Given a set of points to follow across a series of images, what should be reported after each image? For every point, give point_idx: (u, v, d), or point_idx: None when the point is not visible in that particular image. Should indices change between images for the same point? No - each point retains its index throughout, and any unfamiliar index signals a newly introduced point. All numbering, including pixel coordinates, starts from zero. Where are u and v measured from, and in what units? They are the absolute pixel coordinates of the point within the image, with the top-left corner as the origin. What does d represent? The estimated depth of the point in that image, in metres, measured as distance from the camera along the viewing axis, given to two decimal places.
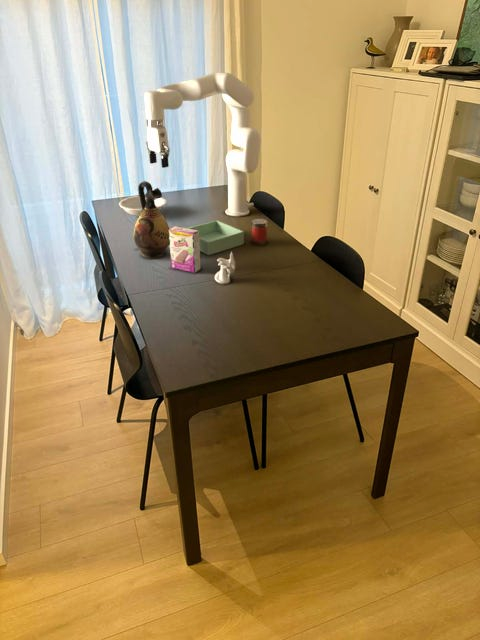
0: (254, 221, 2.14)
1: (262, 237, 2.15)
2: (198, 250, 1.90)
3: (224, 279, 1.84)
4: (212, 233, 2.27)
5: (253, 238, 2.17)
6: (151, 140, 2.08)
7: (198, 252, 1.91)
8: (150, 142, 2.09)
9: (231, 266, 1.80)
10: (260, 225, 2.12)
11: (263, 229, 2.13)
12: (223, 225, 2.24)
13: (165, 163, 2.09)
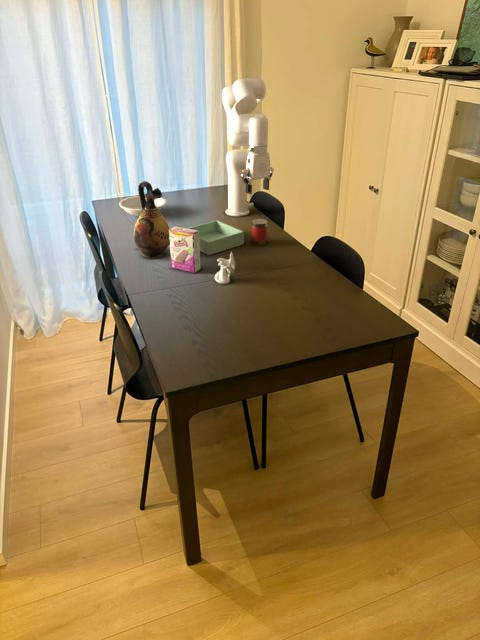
0: (254, 221, 2.14)
1: (262, 237, 2.15)
2: (198, 250, 1.90)
3: (224, 279, 1.84)
4: (212, 233, 2.27)
5: (253, 238, 2.17)
6: None
7: (198, 252, 1.91)
8: None
9: (231, 266, 1.80)
10: (260, 225, 2.12)
11: (263, 229, 2.13)
12: (223, 225, 2.24)
13: (246, 189, 2.04)
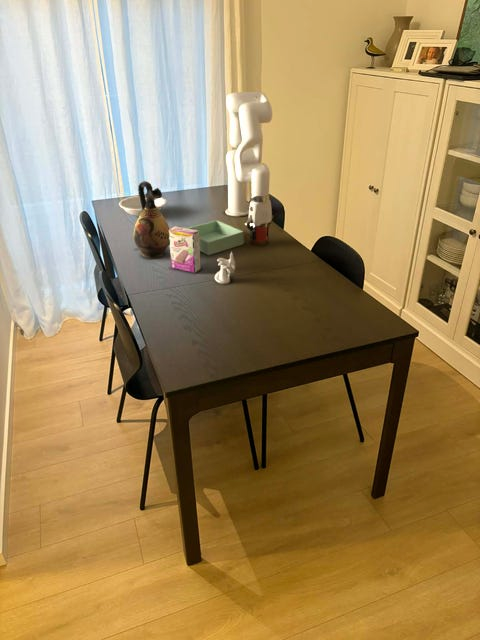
0: None
1: (262, 237, 2.15)
2: (198, 250, 1.90)
3: (224, 279, 1.84)
4: (212, 233, 2.27)
5: None
6: None
7: (198, 252, 1.91)
8: None
9: (231, 266, 1.80)
10: (260, 225, 2.12)
11: (263, 229, 2.13)
12: (223, 225, 2.24)
13: (250, 235, 2.15)
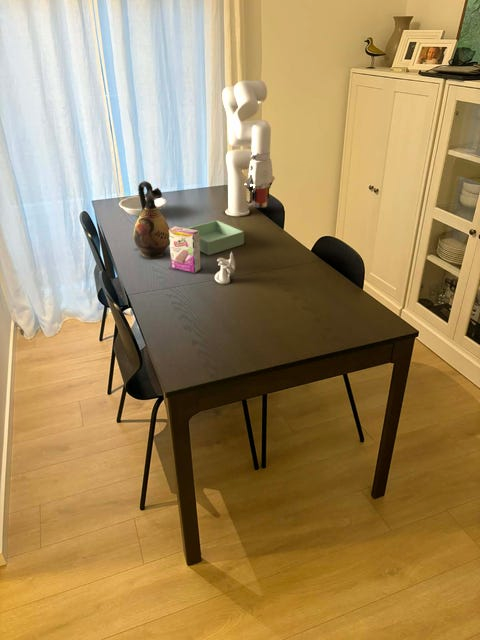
0: None
1: (263, 198, 2.07)
2: (198, 250, 1.90)
3: (224, 279, 1.84)
4: (212, 233, 2.27)
5: None
6: None
7: (198, 252, 1.91)
8: None
9: (231, 266, 1.80)
10: (260, 186, 2.04)
11: (264, 189, 2.05)
12: (223, 225, 2.24)
13: (250, 197, 2.07)
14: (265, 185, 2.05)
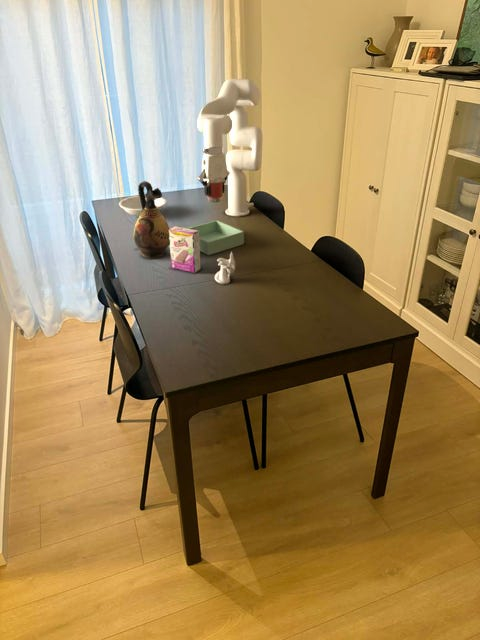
0: None
1: (217, 193, 2.05)
2: (198, 250, 1.90)
3: (224, 279, 1.84)
4: (212, 233, 2.27)
5: None
6: None
7: (198, 252, 1.91)
8: None
9: (231, 266, 1.80)
10: (214, 180, 2.02)
11: (218, 184, 2.03)
12: (223, 225, 2.24)
13: (205, 191, 2.05)
14: (219, 179, 2.03)
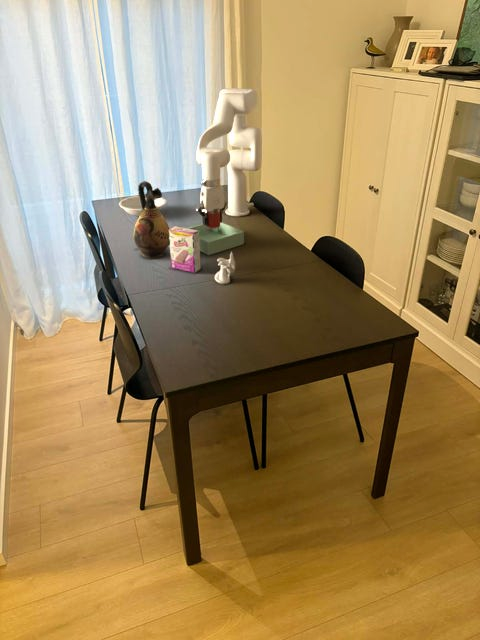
0: None
1: (215, 223, 2.12)
2: (198, 250, 1.90)
3: (224, 279, 1.84)
4: (212, 233, 2.27)
5: None
6: None
7: (198, 252, 1.91)
8: None
9: (231, 266, 1.80)
10: (212, 211, 2.09)
11: (216, 214, 2.10)
12: (223, 225, 2.24)
13: (203, 221, 2.12)
14: (217, 210, 2.09)
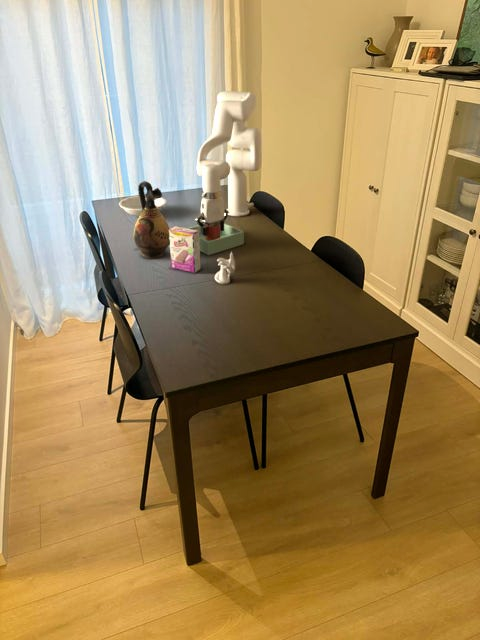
0: None
1: (215, 235, 2.15)
2: (198, 250, 1.90)
3: (224, 279, 1.84)
4: None
5: (206, 236, 2.16)
6: None
7: (198, 252, 1.91)
8: None
9: (231, 266, 1.80)
10: (212, 223, 2.12)
11: (216, 227, 2.13)
12: None
13: (201, 231, 2.13)
14: (217, 223, 2.12)
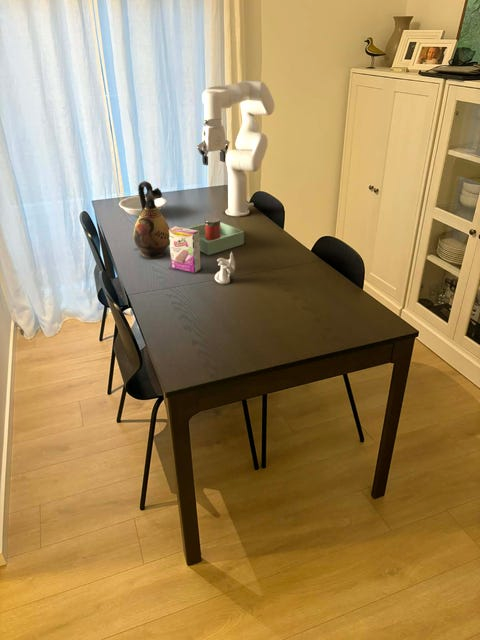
0: (207, 219, 2.14)
1: (215, 235, 2.15)
2: (198, 250, 1.90)
3: (224, 279, 1.84)
4: None
5: (206, 236, 2.16)
6: None
7: (198, 252, 1.91)
8: None
9: (231, 266, 1.80)
10: (212, 223, 2.12)
11: (216, 227, 2.13)
12: (223, 225, 2.24)
13: (203, 160, 2.17)
14: (217, 223, 2.12)
